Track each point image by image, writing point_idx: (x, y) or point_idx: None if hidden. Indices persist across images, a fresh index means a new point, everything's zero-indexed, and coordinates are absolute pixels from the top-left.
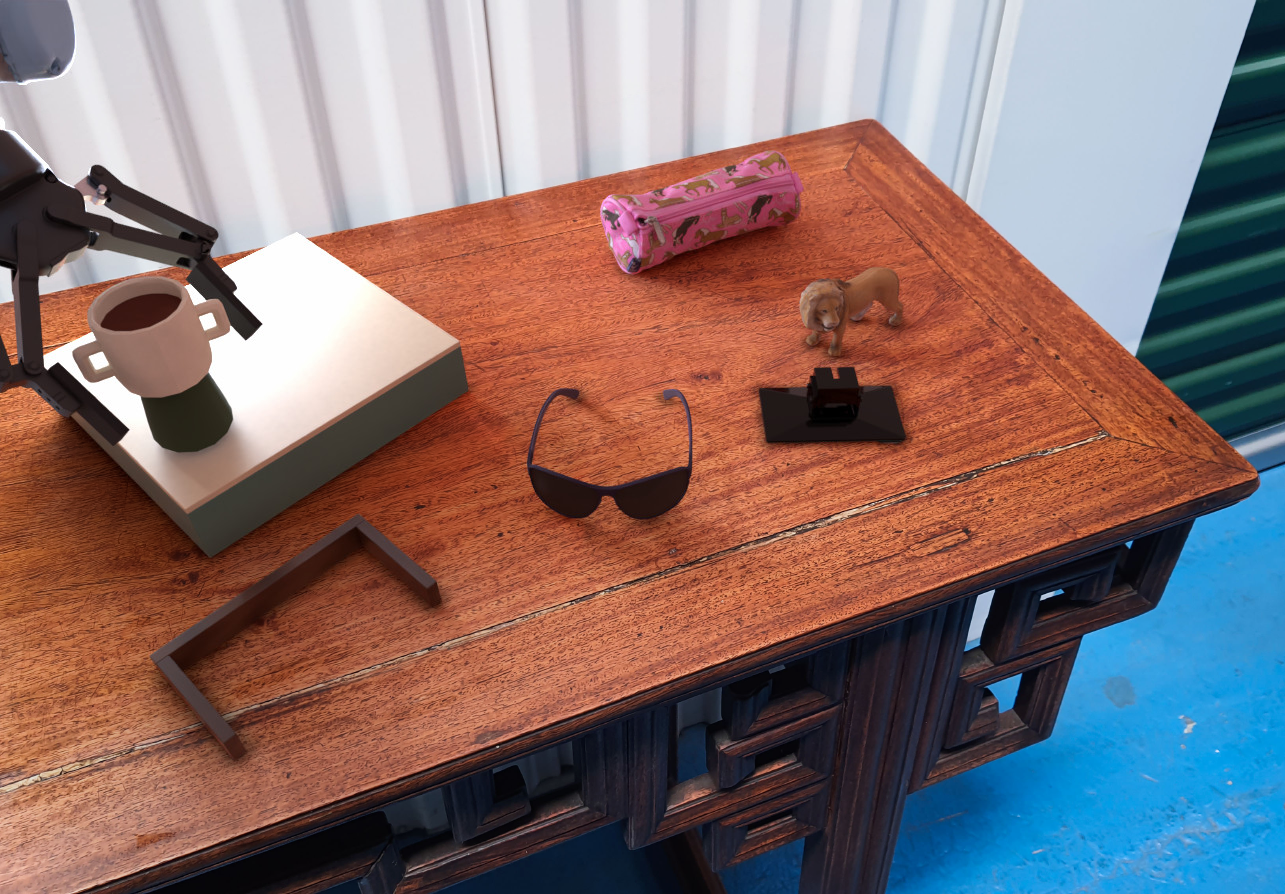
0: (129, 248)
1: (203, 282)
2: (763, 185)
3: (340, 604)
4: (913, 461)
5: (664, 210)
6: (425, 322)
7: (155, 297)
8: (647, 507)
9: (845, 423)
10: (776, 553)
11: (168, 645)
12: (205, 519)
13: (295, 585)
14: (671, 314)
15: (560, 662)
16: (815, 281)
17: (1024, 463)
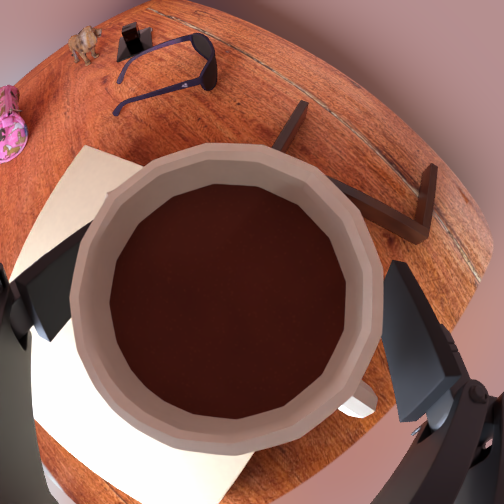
0: (18, 434)
1: (53, 286)
2: (6, 90)
3: (327, 162)
4: (161, 24)
5: (6, 109)
6: (61, 180)
7: (129, 323)
8: (210, 51)
9: (142, 35)
10: (218, 33)
11: (418, 229)
12: None
13: None
14: (57, 113)
15: (308, 69)
16: (79, 34)
17: (161, 12)
